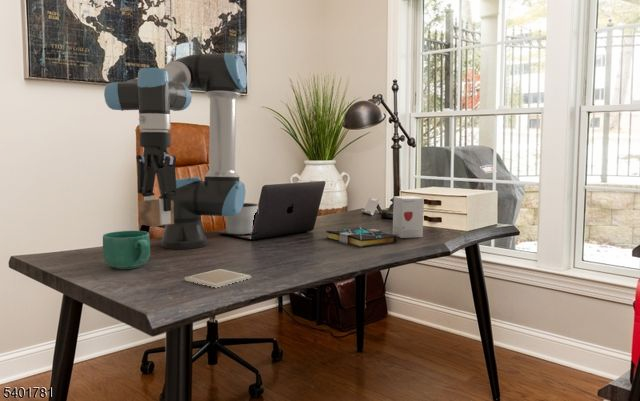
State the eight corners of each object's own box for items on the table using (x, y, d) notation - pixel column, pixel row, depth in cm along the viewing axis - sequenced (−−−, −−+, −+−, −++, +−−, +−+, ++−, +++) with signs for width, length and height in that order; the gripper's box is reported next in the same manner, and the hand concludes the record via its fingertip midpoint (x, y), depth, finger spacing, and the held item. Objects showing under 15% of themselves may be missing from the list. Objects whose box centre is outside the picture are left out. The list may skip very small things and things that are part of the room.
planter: (222, 231, 212) (221, 203, 211) (252, 229, 218) (252, 202, 217) (231, 236, 201) (231, 207, 200) (263, 234, 207) (263, 205, 206)
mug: (96, 266, 153) (95, 233, 152) (138, 259, 161) (137, 228, 160) (121, 277, 141) (120, 241, 140) (165, 269, 150) (164, 235, 149)
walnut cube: (139, 224, 136) (139, 200, 136) (160, 221, 141) (159, 199, 140) (153, 226, 133) (153, 202, 132) (174, 223, 137) (173, 200, 137)
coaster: (184, 280, 138) (184, 277, 138) (220, 271, 147) (219, 268, 147) (216, 288, 130) (216, 284, 130) (251, 278, 140) (251, 275, 140)
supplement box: (400, 238, 200) (401, 198, 198) (392, 234, 208) (392, 196, 207) (423, 237, 202) (424, 198, 200) (413, 233, 210) (414, 195, 209)
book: (398, 244, 191) (398, 230, 190) (361, 249, 181) (361, 234, 181) (360, 235, 209) (360, 222, 208) (324, 239, 199) (325, 226, 199)
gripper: (120, 131, 137) (123, 220, 140) (164, 130, 126) (167, 228, 128) (146, 132, 143) (148, 217, 146) (190, 131, 131) (192, 224, 134)
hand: (157, 222), depth 137 cm, fingers closed on walnut cube, 6 cm apart
